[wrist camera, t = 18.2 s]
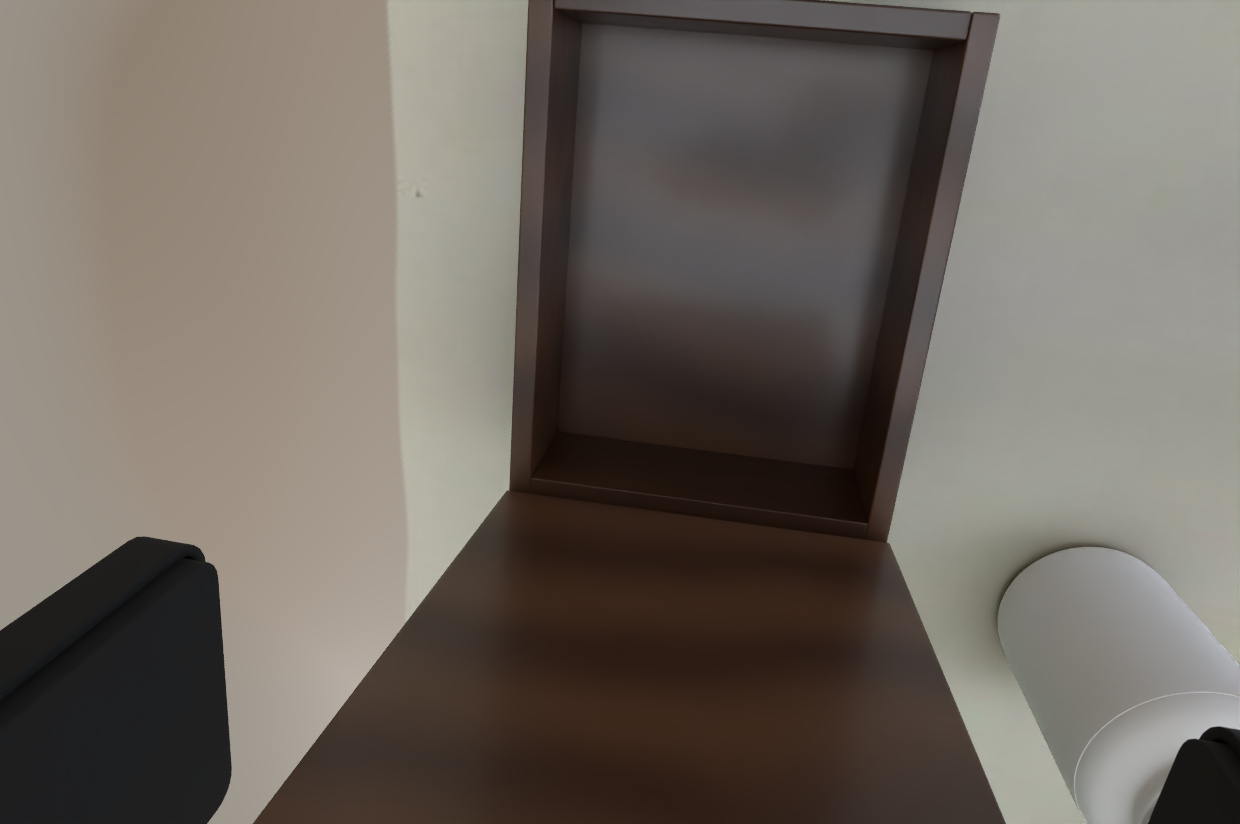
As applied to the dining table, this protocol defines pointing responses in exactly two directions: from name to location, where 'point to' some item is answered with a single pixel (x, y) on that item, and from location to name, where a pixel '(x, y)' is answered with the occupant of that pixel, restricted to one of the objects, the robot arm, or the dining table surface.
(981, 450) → the dining table surface
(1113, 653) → the pill bottle
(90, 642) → the robot arm
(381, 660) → the chest lid
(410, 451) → the dining table surface
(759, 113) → the chest
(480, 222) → the dining table surface
